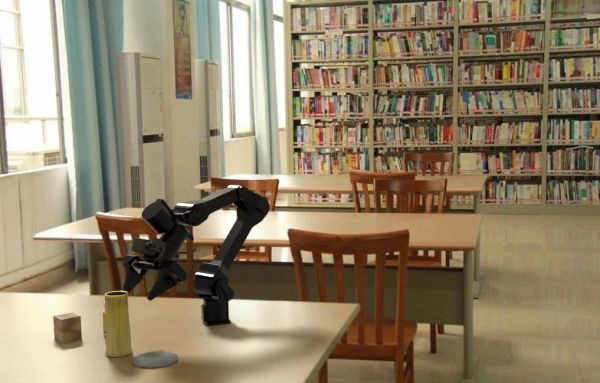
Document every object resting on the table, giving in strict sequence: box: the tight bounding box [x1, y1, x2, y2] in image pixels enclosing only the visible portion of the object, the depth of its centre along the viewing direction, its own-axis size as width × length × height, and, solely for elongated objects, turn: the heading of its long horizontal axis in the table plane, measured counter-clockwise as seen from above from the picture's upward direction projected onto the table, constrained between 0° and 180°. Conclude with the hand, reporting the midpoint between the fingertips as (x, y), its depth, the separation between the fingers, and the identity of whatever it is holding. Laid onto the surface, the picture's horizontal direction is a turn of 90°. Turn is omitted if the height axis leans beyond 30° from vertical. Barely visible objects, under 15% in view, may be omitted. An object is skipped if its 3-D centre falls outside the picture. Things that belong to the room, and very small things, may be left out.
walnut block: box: [52, 312, 83, 344], centre depth 186 cm, size 5×5×6 cm
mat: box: [132, 350, 179, 369], centre depth 168 cm, size 10×10×1 cm
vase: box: [104, 290, 133, 358], centre depth 174 cm, size 6×6×14 cm
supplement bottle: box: [102, 301, 106, 337], centre depth 190 cm, size 5×5×8 cm
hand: (135, 297), depth 177 cm, fingers open, 9 cm apart
